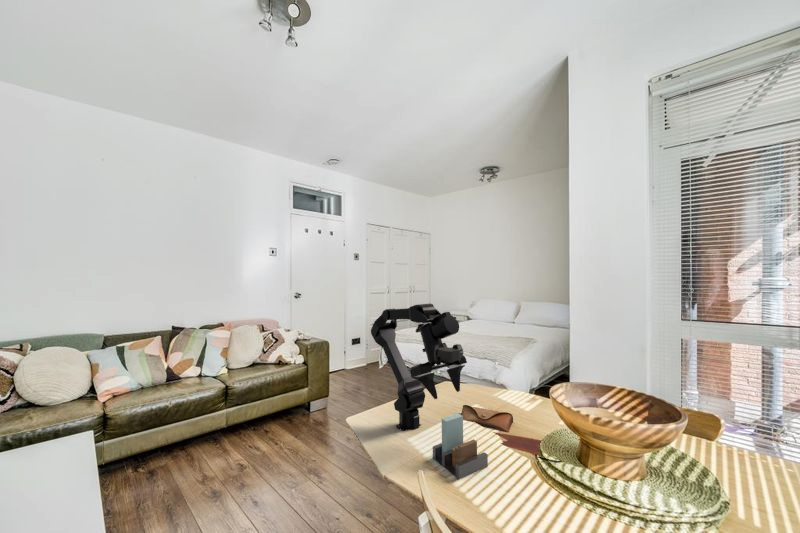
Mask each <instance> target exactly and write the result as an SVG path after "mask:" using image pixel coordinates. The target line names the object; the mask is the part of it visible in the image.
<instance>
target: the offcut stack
mask: <svg viewBox="0 0 800 533" xmlns="http://www.w3.org/2000/svg"><path fill="white" fill-rule="evenodd" d="M476 455H478V442H477V440H475V439H471V440H468V441H466V442H463V444H460V445H458V446H456V447H455V448H453V449H452V466H453V467H454V468H455V469H456V464H457V463H459V462H462V461H464V460H466V459H469V458H471V457H474V456H476Z"/></svg>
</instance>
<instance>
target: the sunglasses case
mask: <svg viewBox="0 0 800 533" xmlns="http://www.w3.org/2000/svg"><path fill="white" fill-rule="evenodd" d="M460 415H462V416H463V421H467V422H472V423H475V424H477V425H479V426H481V427H484V428H488V429H492V430H493V429H495V430H499V431H503V432H507V433H510V429H511V428H512V425H513V423H514V417H513V414H512V413H510V412H507V411H497V410H494V409H489V408H488V409H487V408H483V407H477V406H471V405H467V404H463V405H462V408H461V413H460Z"/></svg>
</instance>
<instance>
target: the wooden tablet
mask: <svg viewBox="0 0 800 533" xmlns="http://www.w3.org/2000/svg"><path fill="white" fill-rule="evenodd" d="M492 433H493V434H495V435H497V436H498V437H501V438H503V439H504V440H502V441H501V442H500V444H501V445H502V446H504V447H507V448H511V449H513V450H516V451H517V450H518V451H521V452H526V453H529V454H531V455H533V456H534V457H537V455H538V454H539V451H538V450H539V446H540V443H541V441H543V440H541V439H535V438H532V437H531V438H530V437H525V436H520V435H513V434H507V433H500V432H493V431H492ZM537 458H538V457H537Z"/></svg>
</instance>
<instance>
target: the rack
mask: <svg viewBox="0 0 800 533" xmlns="http://www.w3.org/2000/svg"><path fill="white" fill-rule="evenodd" d="M488 458H489V456H488V454H487V453H486V452H484V451H483V452H481V453H479V454H477V455H476V456H474V457H471V458H469V459H466V460H464V461H462V462H459V463H457V464H456V469H455V468H454V467H453V466H452V450H449V451H447V452H444V453H442V442H441V443H439V444H435V445H433V446H432V459H433V460H434V461H435V462H437V463H438V464H439V465H440V466H441V467H442V468H444V469H445V470H447V472H449V473H450V474H451V475H453V476H454V477H455V478H456V479H457V480H461V479H464V478H467V476H470V475H472V474H476V473H477V472H479V471H481V470H484V469H487V468H488V467H489V466H488V465H489V464H488V463H489V462H488V460H489V459H488Z"/></svg>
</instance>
